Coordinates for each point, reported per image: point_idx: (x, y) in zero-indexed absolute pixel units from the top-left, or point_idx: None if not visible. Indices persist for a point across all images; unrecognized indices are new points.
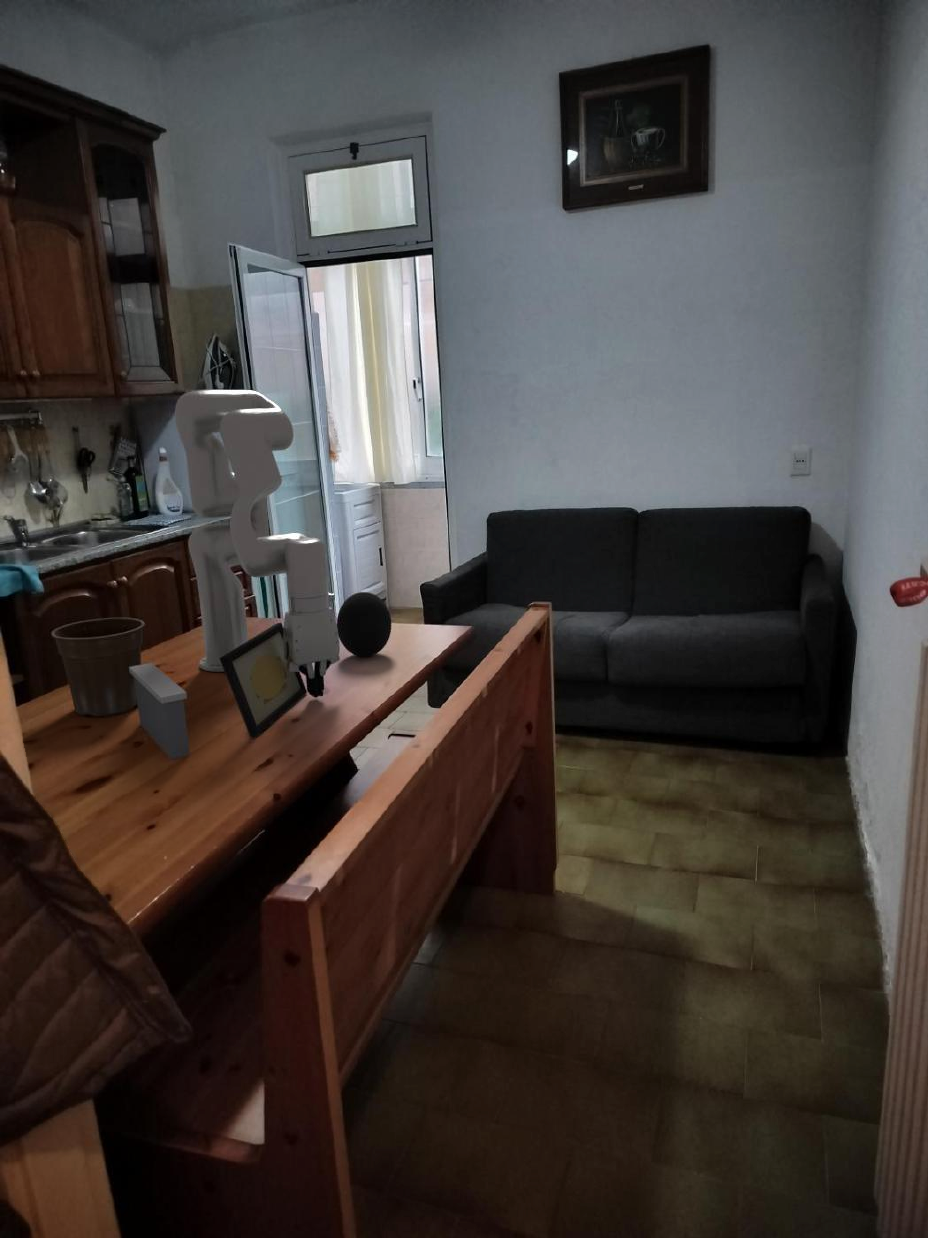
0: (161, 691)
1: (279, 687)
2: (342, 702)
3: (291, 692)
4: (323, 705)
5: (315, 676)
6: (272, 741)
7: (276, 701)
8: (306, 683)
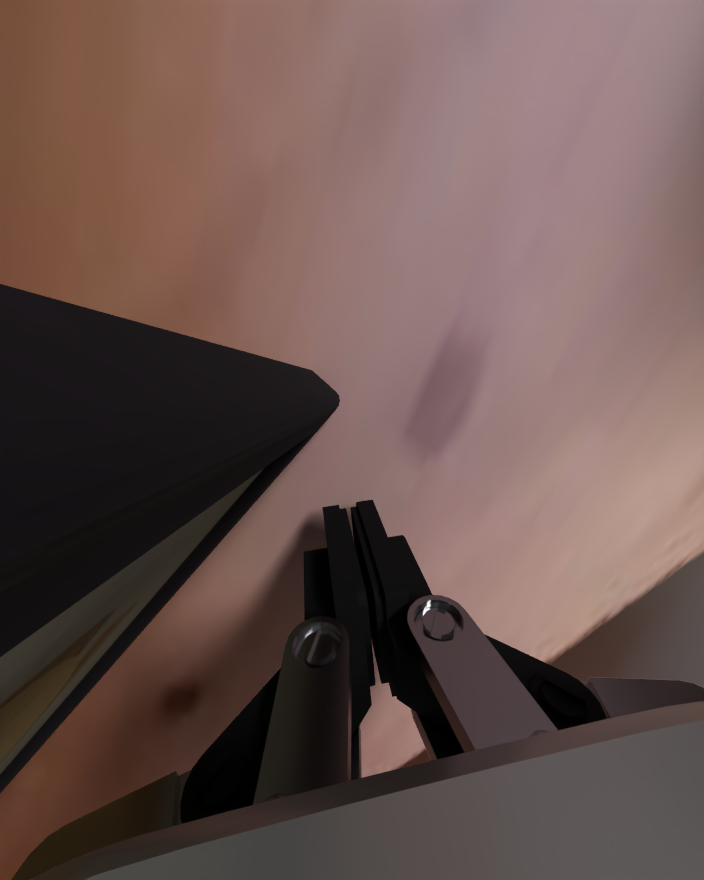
0: None
1: (37, 711)
2: None
3: (192, 547)
4: None
5: (379, 650)
6: (56, 828)
7: (49, 711)
8: (304, 586)
